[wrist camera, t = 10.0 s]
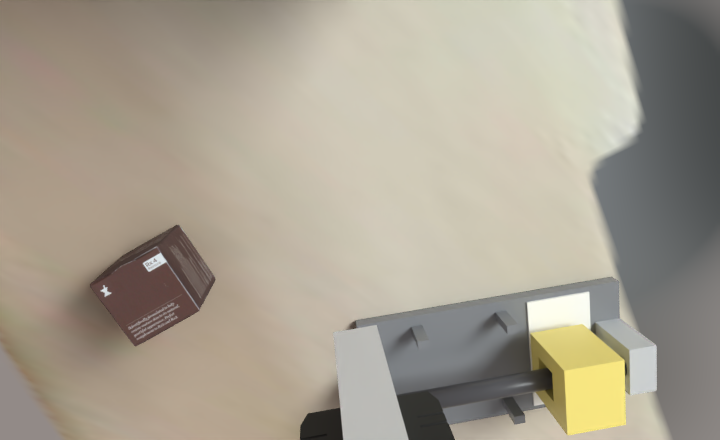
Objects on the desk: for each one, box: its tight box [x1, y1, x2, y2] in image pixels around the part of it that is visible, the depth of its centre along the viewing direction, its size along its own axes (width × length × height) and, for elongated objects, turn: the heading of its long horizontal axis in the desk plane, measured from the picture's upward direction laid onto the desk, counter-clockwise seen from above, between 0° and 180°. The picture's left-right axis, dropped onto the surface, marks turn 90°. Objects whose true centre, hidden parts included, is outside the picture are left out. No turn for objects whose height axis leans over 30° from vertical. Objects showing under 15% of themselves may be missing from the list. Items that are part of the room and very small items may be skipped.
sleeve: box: [530, 324, 626, 435], centre depth 46 cm, size 6×5×7 cm
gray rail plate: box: [356, 277, 657, 425], centre depth 49 cm, size 12×25×7 cm, turn 98°
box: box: [90, 225, 215, 346], centre depth 43 cm, size 6×6×7 cm
